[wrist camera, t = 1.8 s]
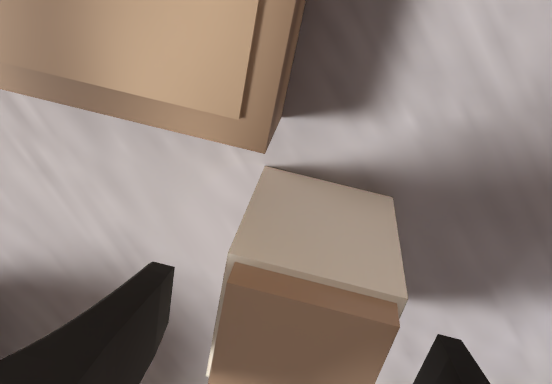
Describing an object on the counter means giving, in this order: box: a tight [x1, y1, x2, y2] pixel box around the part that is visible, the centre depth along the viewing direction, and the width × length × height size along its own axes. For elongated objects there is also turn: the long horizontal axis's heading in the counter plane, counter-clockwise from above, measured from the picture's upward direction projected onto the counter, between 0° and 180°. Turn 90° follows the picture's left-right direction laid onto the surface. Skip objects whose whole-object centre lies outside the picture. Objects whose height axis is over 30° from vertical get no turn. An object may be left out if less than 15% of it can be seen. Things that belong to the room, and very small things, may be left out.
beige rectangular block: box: [206, 166, 408, 384], centre depth 14 cm, size 4×4×6 cm
